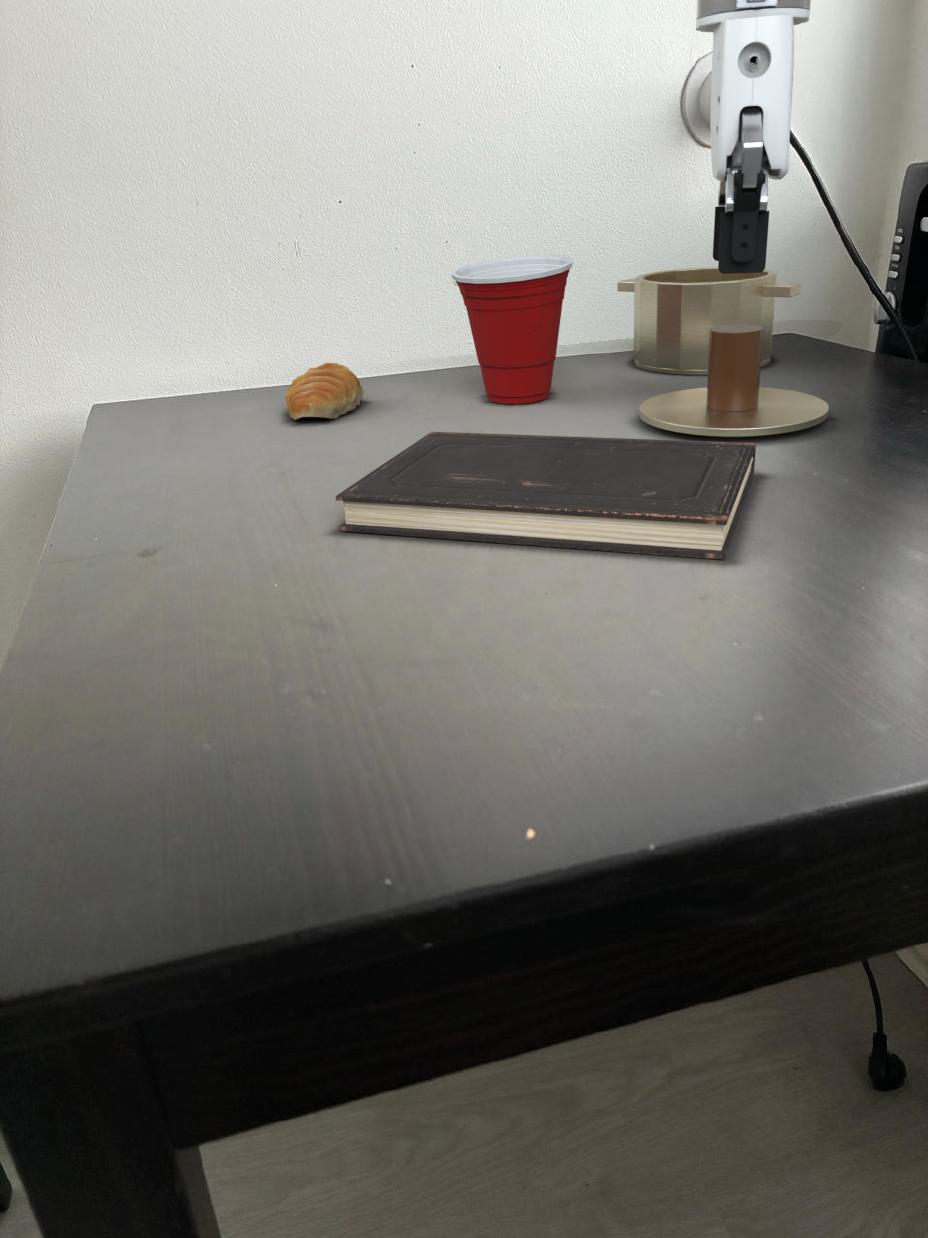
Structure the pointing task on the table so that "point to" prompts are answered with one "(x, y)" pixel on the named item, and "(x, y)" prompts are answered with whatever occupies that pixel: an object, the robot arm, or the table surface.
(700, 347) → the pot
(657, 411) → the lid
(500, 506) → the hardcover book
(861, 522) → the table surface
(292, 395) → the pastry
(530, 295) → the plastic cup
